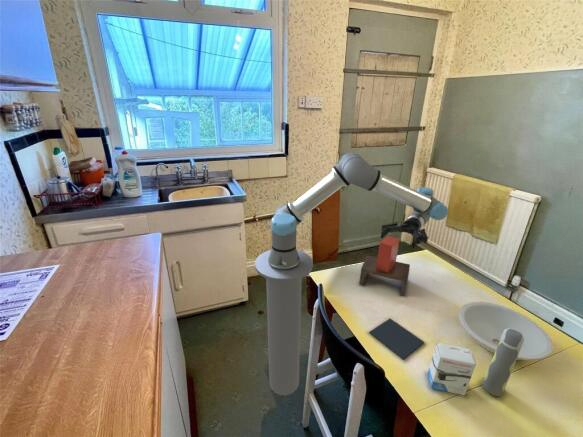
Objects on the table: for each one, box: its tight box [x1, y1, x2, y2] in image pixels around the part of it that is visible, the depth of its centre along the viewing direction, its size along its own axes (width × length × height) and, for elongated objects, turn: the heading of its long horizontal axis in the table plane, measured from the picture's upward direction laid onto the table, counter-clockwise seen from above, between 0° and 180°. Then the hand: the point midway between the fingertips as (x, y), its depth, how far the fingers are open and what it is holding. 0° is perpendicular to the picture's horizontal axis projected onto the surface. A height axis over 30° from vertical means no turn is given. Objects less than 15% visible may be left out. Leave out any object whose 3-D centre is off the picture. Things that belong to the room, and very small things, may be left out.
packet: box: [376, 235, 401, 273], centre depth 116 cm, size 5×8×12 cm, turn 141°
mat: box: [369, 318, 425, 361], centre depth 93 cm, size 13×11×1 cm
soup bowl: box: [458, 301, 554, 361], centre depth 91 cm, size 24×24×7 cm
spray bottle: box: [481, 328, 524, 397], centre depth 73 cm, size 5×5×20 cm
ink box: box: [427, 342, 477, 396], centre depth 76 cm, size 8×5×12 cm, turn 76°
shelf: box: [358, 255, 411, 297], centre depth 120 cm, size 18×12×8 cm, turn 66°
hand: (397, 239), depth 122 cm, fingers open, 13 cm apart
